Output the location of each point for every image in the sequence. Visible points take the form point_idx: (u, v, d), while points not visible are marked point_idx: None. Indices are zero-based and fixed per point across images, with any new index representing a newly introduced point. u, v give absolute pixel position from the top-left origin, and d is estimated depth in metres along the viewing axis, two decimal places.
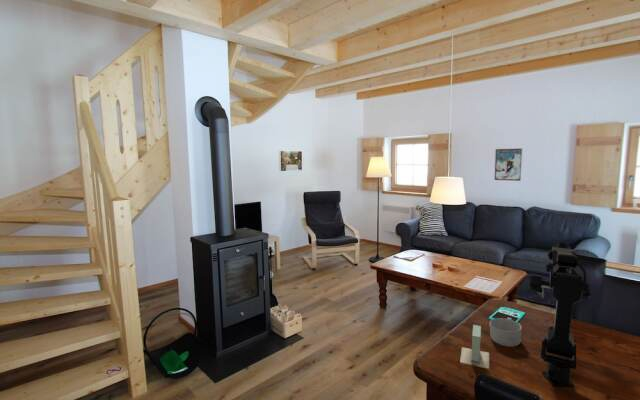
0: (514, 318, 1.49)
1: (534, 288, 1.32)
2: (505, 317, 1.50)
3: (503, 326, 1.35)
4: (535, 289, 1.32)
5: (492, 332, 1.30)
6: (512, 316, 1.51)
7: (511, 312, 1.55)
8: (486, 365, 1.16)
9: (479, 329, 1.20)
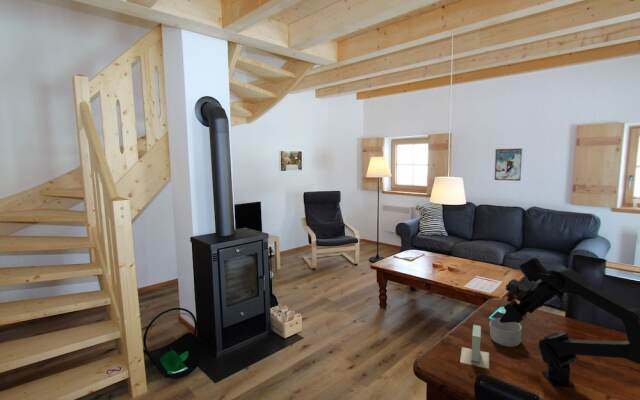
0: None
1: None
2: None
3: (503, 326, 1.35)
4: (521, 320, 1.11)
5: (492, 332, 1.30)
6: None
7: None
8: (486, 365, 1.16)
9: (479, 329, 1.20)
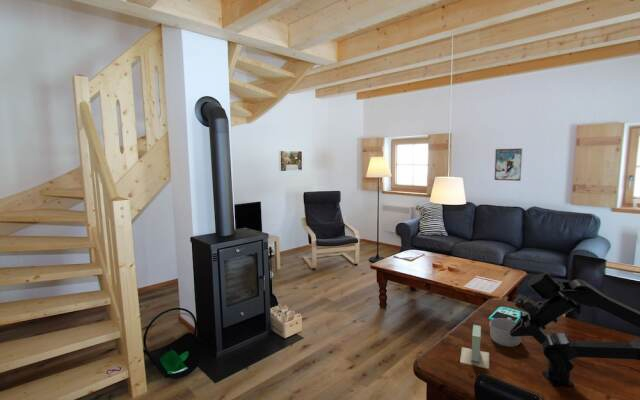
0: (514, 318, 1.50)
1: None
2: (504, 317, 1.51)
3: (503, 326, 1.35)
4: None
5: (492, 332, 1.30)
6: (511, 316, 1.51)
7: (510, 312, 1.55)
8: (486, 365, 1.16)
9: (479, 329, 1.20)
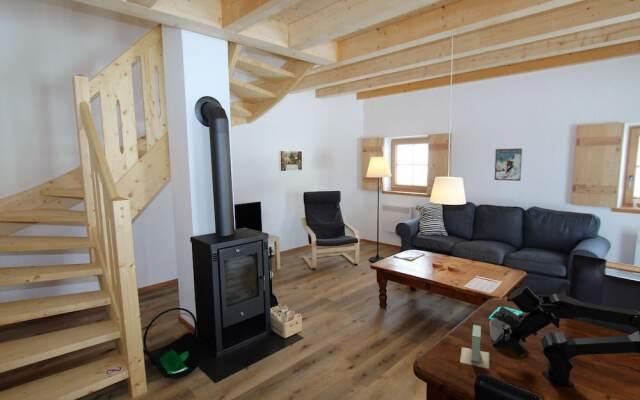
0: None
1: None
2: None
3: None
4: None
5: (492, 332, 1.30)
6: None
7: None
8: (486, 365, 1.16)
9: (479, 329, 1.20)
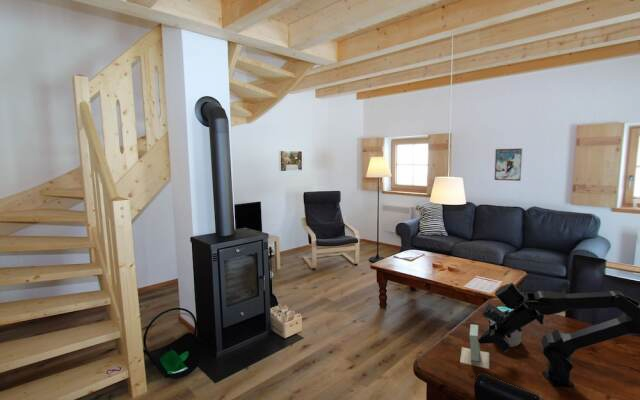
0: None
1: None
2: None
3: None
4: None
5: None
6: None
7: (509, 311, 1.55)
8: (486, 365, 1.16)
9: (476, 328, 1.20)
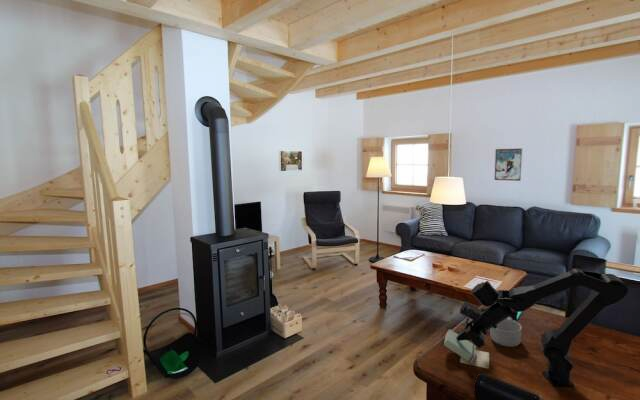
0: None
1: None
2: None
3: (503, 326, 1.35)
4: None
5: (492, 332, 1.30)
6: None
7: None
8: (486, 365, 1.16)
9: (448, 333, 1.25)
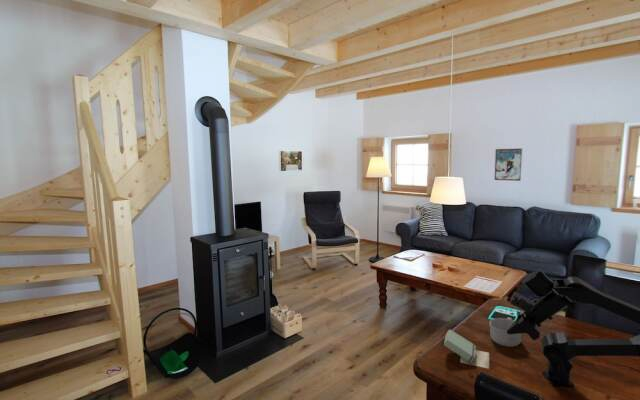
0: (512, 317, 1.50)
1: None
2: (503, 316, 1.51)
3: (503, 326, 1.35)
4: None
5: (492, 332, 1.30)
6: (509, 315, 1.52)
7: (507, 311, 1.56)
8: (486, 365, 1.16)
9: (448, 333, 1.25)
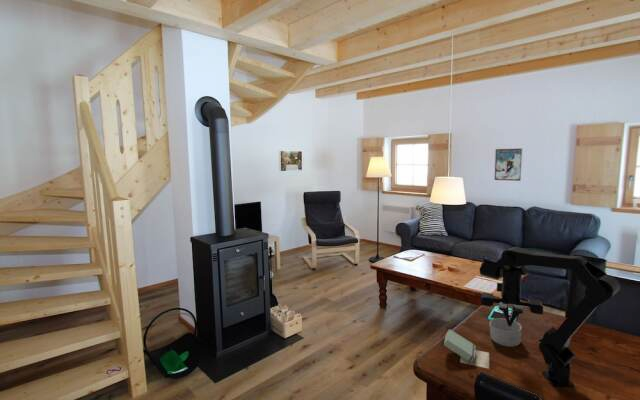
0: None
1: (486, 302, 1.21)
2: (503, 316, 1.51)
3: (503, 326, 1.35)
4: (487, 303, 1.21)
5: (492, 332, 1.30)
6: (509, 315, 1.52)
7: None
8: (486, 365, 1.16)
9: (448, 333, 1.25)
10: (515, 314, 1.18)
